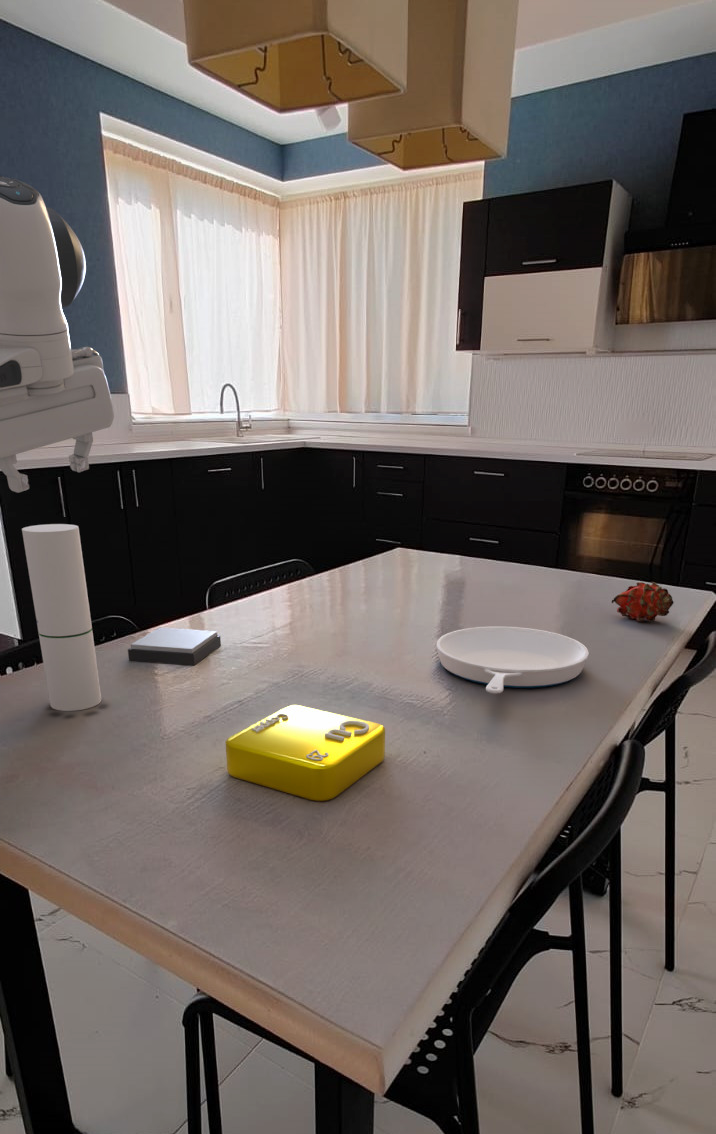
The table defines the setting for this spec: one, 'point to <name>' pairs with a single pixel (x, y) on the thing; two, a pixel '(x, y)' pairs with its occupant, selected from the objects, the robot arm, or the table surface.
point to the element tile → (306, 752)
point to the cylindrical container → (62, 615)
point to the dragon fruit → (644, 601)
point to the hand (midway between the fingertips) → (51, 479)
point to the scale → (174, 646)
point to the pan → (511, 657)
